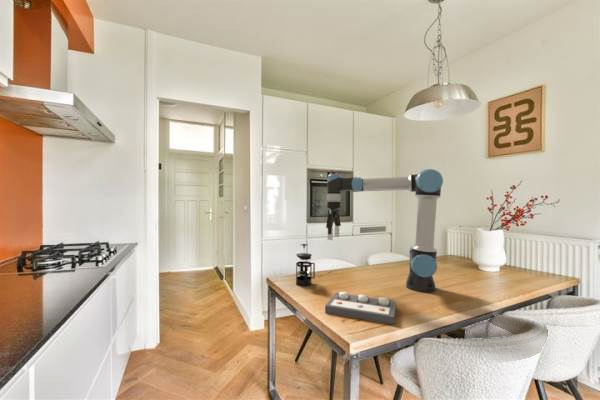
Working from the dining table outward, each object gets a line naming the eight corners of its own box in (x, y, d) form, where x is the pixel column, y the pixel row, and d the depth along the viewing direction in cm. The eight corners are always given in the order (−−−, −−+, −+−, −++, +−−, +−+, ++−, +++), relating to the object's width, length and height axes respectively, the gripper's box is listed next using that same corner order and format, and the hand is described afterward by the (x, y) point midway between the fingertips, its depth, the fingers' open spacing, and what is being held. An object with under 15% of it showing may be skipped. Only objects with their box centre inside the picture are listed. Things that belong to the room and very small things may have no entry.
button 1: (349, 299, 128) (349, 292, 128) (347, 302, 124) (347, 295, 124) (340, 297, 130) (340, 291, 130) (337, 300, 125) (337, 294, 125)
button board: (396, 307, 122) (396, 300, 122) (393, 324, 106) (393, 315, 106) (336, 298, 133) (336, 291, 133) (325, 312, 117) (325, 304, 117)
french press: (296, 287, 151) (297, 245, 151) (292, 282, 160) (293, 243, 160) (316, 285, 154) (317, 245, 154) (311, 280, 163) (312, 242, 163)
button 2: (389, 305, 121) (389, 298, 121) (388, 308, 117) (388, 301, 117) (379, 303, 123) (379, 296, 123) (377, 307, 119) (378, 299, 119)
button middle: (368, 302, 124) (368, 295, 124) (367, 305, 120) (367, 298, 120) (359, 300, 126) (359, 293, 126) (357, 303, 122) (357, 296, 122)
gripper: (333, 201, 168) (333, 235, 168) (320, 201, 145) (320, 240, 145) (345, 201, 165) (345, 236, 165) (334, 201, 142) (333, 241, 142)
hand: (333, 238), depth 155 cm, fingers open, 13 cm apart
